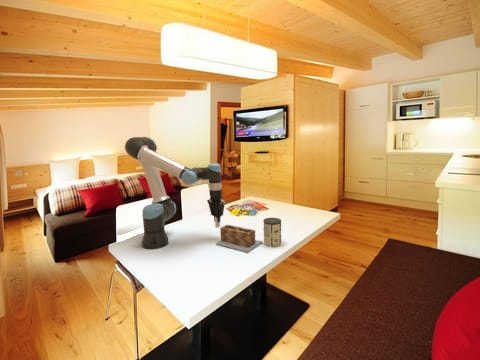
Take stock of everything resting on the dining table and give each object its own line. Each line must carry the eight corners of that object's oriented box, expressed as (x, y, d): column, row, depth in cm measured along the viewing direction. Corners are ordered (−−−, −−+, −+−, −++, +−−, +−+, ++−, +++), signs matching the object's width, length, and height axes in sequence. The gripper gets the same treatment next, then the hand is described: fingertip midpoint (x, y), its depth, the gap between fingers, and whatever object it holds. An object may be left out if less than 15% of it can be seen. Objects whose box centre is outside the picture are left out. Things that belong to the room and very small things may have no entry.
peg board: (216, 244, 157) (215, 234, 156) (232, 236, 170) (231, 226, 169) (247, 253, 145) (247, 241, 144) (262, 243, 158) (262, 232, 157)
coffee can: (270, 238, 165) (270, 216, 162) (284, 242, 158) (284, 219, 155) (260, 243, 157) (259, 220, 155) (274, 248, 150) (274, 224, 148)
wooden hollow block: (255, 243, 155) (255, 230, 154) (248, 247, 150) (248, 233, 148) (227, 236, 166) (227, 224, 165) (220, 240, 161) (220, 227, 159)
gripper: (203, 189, 162) (205, 227, 166) (220, 191, 155) (222, 230, 159) (211, 187, 168) (213, 223, 172) (227, 189, 161) (229, 226, 165)
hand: (217, 226), depth 165 cm, fingers closed
